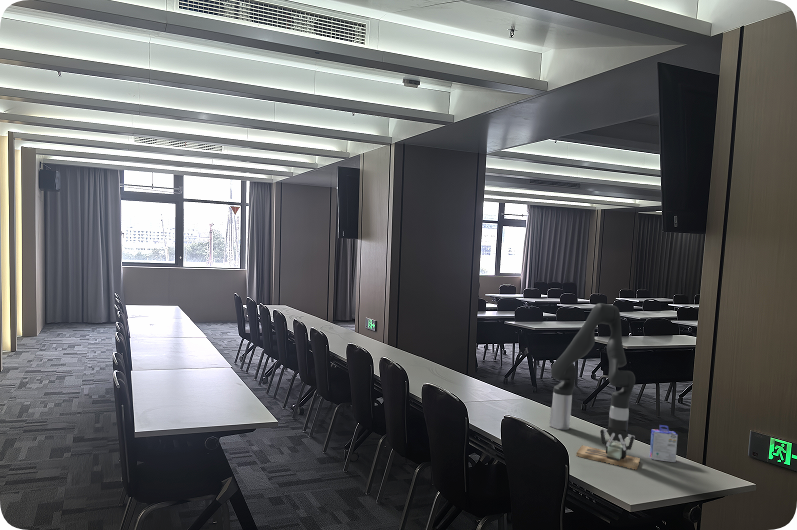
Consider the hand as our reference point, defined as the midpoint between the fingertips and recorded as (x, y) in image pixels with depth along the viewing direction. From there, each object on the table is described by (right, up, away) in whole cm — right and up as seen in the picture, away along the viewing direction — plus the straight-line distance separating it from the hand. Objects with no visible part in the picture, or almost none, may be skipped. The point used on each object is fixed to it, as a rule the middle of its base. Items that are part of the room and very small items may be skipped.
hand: (615, 456), depth 234 cm
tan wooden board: (-3, -2, +1) cm, 3 cm away
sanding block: (0, 0, 0) cm, 0 cm away
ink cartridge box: (+23, -4, +6) cm, 24 cm away
